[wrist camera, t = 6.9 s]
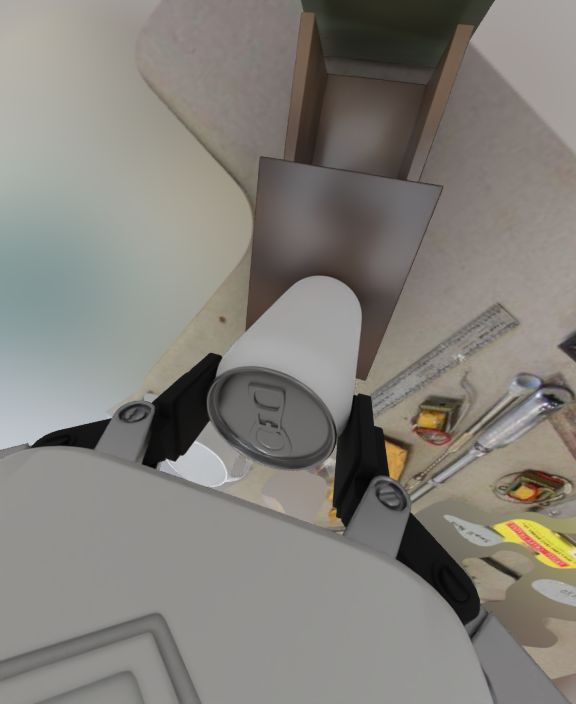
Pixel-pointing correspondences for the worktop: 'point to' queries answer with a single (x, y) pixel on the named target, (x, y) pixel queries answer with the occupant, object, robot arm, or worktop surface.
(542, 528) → the worktop surface
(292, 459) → the can
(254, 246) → the cabinet
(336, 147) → the drawer
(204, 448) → the mug
